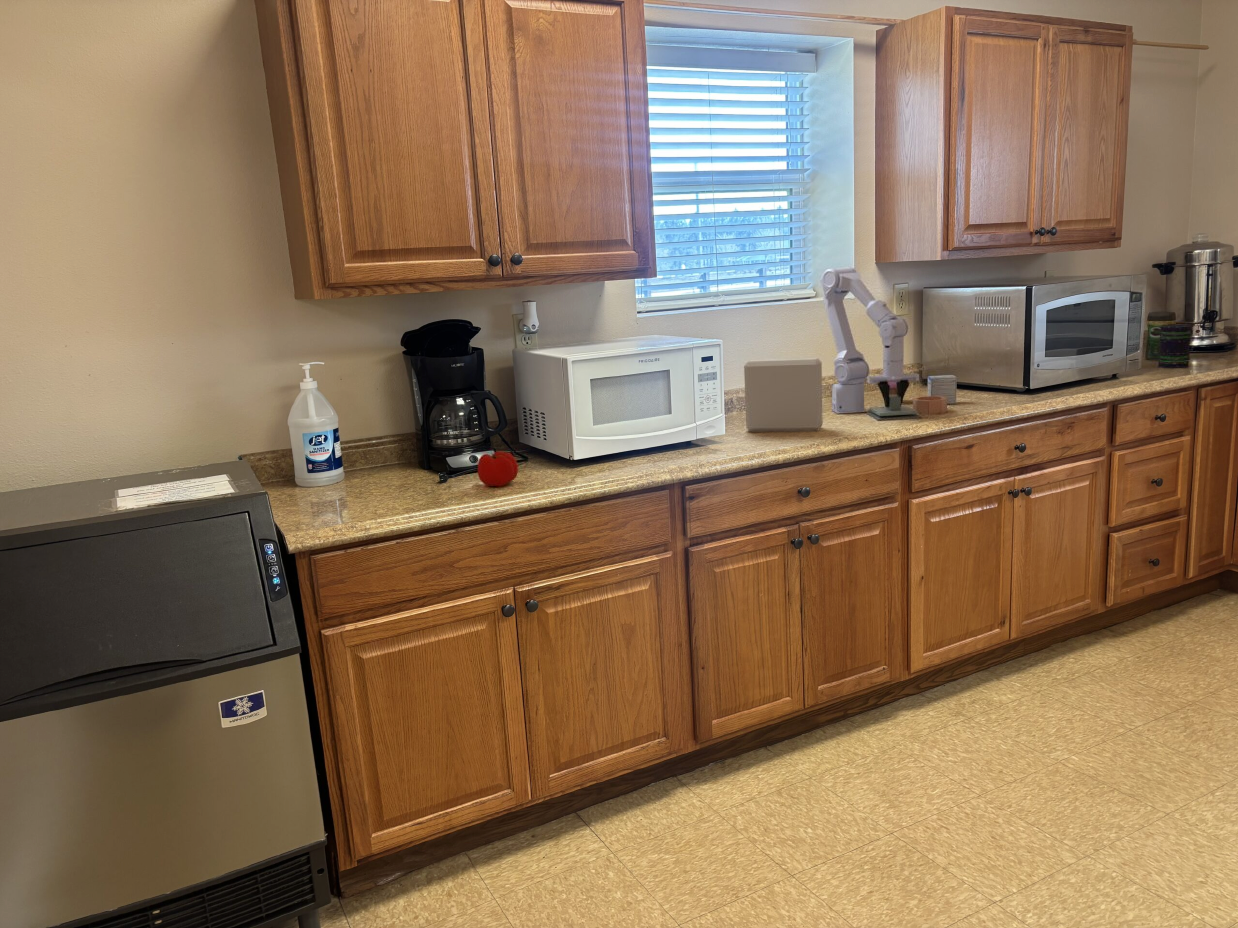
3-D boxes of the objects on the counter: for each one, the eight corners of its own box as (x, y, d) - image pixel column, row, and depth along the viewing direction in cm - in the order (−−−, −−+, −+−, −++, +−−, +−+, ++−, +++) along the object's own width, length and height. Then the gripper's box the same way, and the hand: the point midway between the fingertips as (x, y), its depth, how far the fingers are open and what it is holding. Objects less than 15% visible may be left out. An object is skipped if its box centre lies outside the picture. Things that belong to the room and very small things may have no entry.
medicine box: (952, 402, 284) (953, 374, 282) (956, 404, 280) (957, 376, 278) (927, 403, 285) (927, 376, 283) (930, 405, 281) (930, 377, 279)
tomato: (479, 490, 206) (476, 459, 205) (479, 482, 215) (476, 451, 213) (520, 486, 208) (517, 455, 206) (518, 478, 216) (515, 448, 215)
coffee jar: (1177, 358, 349) (1180, 310, 346) (1167, 361, 345) (1170, 312, 341) (1151, 357, 357) (1153, 310, 353) (1141, 360, 353) (1143, 312, 349)
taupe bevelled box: (823, 426, 257) (822, 356, 253) (821, 431, 250) (819, 359, 245) (749, 427, 263) (747, 359, 259) (745, 432, 256) (743, 362, 252)
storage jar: (1163, 364, 336) (1166, 324, 333) (1193, 365, 328) (1196, 324, 325) (1153, 367, 330) (1155, 326, 326) (1182, 369, 322) (1185, 327, 319)
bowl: (919, 414, 266) (919, 401, 265) (910, 410, 274) (910, 397, 274) (949, 412, 265) (950, 399, 265) (939, 408, 274) (939, 395, 273)
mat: (877, 420, 260) (877, 419, 260) (866, 414, 273) (866, 412, 272) (921, 418, 260) (920, 416, 260) (908, 411, 272) (908, 410, 272)
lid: (879, 416, 261) (879, 399, 260) (869, 410, 272) (869, 394, 271) (917, 413, 261) (917, 397, 260) (906, 408, 271) (906, 392, 270)
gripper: (872, 363, 259) (872, 409, 262) (922, 360, 259) (922, 407, 262) (865, 360, 266) (865, 406, 269) (914, 358, 266) (914, 403, 269)
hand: (893, 406), depth 266 cm, fingers closed on lid, 3 cm apart
